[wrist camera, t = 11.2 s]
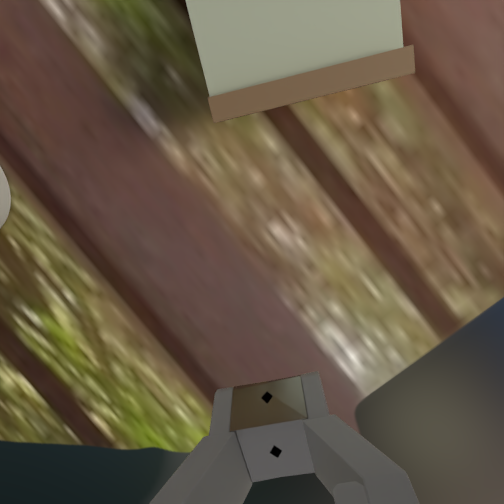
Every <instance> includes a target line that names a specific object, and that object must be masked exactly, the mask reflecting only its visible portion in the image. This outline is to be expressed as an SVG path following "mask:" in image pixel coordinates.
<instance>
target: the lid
mask: <svg viewBox="0 0 504 504" xmlns="http://www.w3.org/2000/svg"><path fill="white" fill-rule="evenodd" d="M185 1H186V5H187V9H188V13H189V17H190V20H191V24H192V28H193V32H194V36H195V40H196V44H197V48H198V52H199V56H200V60H201V64H202V68H203V72H204V76H205V80H206V84H207V88H208V92H209V96H210V97H208V102H209V106H210V110H211V114H212V118H213V122H214V123H216V122H221V121H225V120H229V119H233V118H237V117H241V116H245V115H249V114H253V113H257V112H261V111H265V110H269V109H273V108H277V107H281V106H285V105H289V104H293V103H297V102H301V101H305V100H309V99H313V98H317V97H321V96H325V95H329V94H333V93H337V92H341V91H345V90H349V89H353V88H357V87H361V86H365V85H369V84H373V83H377V82H381V81H385V80H389V79H393V78H397V77H401V76H404V75H408V74H412V73H415V62H414V46H413V45H410V46H406V47H403V36H402V22H401V8H400V0H185Z"/></svg>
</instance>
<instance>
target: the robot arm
mask: <svg viewBox="0 0 504 504" xmlns="http://www.w3.org/2000/svg"><path fill="white" fill-rule="evenodd" d="M10 204H11V196H10V189H9V185H8V181H7V179H6V176H5V174H4V172H3V170H2V168H1V166H0V228H1V227H2V226H3V224H4V223H5V221H6V219H7V217H8V214H9V211H10ZM314 472H315V474H316V475H317V477H318V478H319V479H320V481H321V482H322V483H323V484H324V486H325V487H326V488H327V489H328V490H329V492H330V493H331V494H332V495H333V496H334V500H335V504H419V501H418V499H417V497H416V494H415V492H414V490H413V487H412V485H411V483H410V480H409V478H408V476H407V473H406V472H405V471H404V470H403V469H402V468H400V467H399V466H398V465H397V464H395V463H394V462H393V461H392V460H391V459H389V458H388V457H387V456H385V455H384V454H383V453H382V452H381V451H379V450H378V449H377V448H376V447H374V446H373V445H372V444H371V443H370V442H368V441H367V440H366V439H365V438H363V437H362V436H361V435H360V434H358V433H357V432H356V431H355V430H354V429H352V428H351V427H350V426H349V425H347V424H346V423H345V422H344V421H342V420H341V419H340V418H339V417H337V416H336V415H329V411H328V407H327V403H326V399H325V395H324V391H323V387H322V383H321V379H320V375H319V373H318V371H316V372H311V373H306V374H301V375H298V376H293V377H287V378H282V379H277V380H272V381H266V382H260V383H253V384H247V385H240V386H234V387H230V388H223V389H217V391H216V393H215V397H214V404H213V411H212V418H211V425H210V432H209V436H206V437H203V438H202V440H201V441H200V442H199V443H198V445H197V446H196V447H195V448H194V450H193V451H192V452H191V453H190V454H189V456H188V457H187V458H186V459H185V461H184V462H183V463H182V464H181V465H180V467H179V468H178V469H177V470H176V472H175V473H174V474H173V475H172V477H171V478H170V479H169V480H168V481H167V483H166V484H165V485H164V486H163V488H162V489H161V490H160V491H159V492H158V494H157V495H156V496H155V497H154V499H153V500H152V501H151V502H150V504H243V502H244V500H245V498H246V496H247V494H248V492H249V490H250V488H251V486H252V483H251V482H256V481H262V480H266V479H272V478H277V477H283V476H291V475H299V474H307V473H314Z"/></svg>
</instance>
